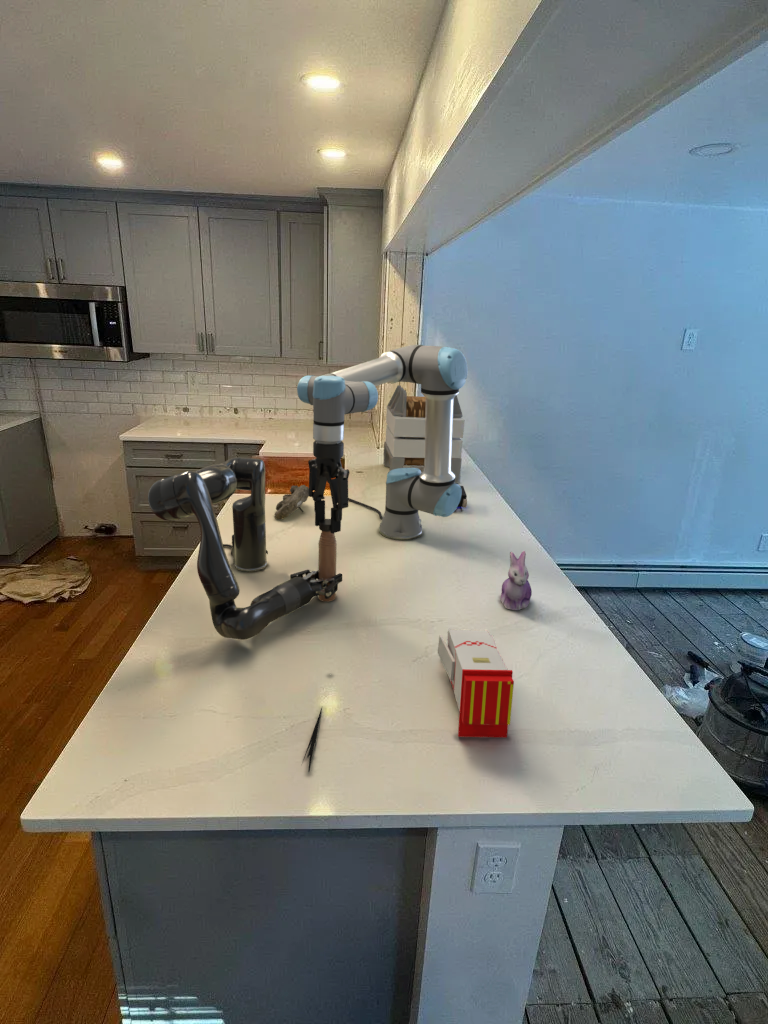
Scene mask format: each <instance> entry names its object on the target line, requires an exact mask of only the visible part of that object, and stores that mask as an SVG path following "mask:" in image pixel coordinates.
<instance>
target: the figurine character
mask: <svg viewBox="0 0 768 1024" xmlns="http://www.w3.org/2000/svg"><path fill="white" fill-rule="evenodd" d="M460 487H461V489H462V495H461V499H460V502H459V505H458V507H457V508H456V510H458V509H459V510H460V512H463V509H464V508H465V509H466V508H467V506H468V499H467V497H468V496H467V495H468V494H467V493H466V490H465V487H464V485H460Z"/></svg>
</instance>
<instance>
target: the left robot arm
mask: <svg viewBox="0 0 768 1024" xmlns="http://www.w3.org/2000/svg"><path fill="white" fill-rule="evenodd" d="M266 473H267V471H266V465H265V462H264V461H263V459H261V458H256V457H255V458H253V457H239V456H238V457H231V458H228V459H227V460H225V461H224V462H221V463H217V464H212V465H207V466H204V467H202V468H200V469H197V470H186V471H183V472H180V473H179V472H178V473H176V474H173V475H169V476H165V477H162V478H160V479H158V480H156V481H155V482H154V483H152V484H151V486H150V488H149V490H148V492H147V493H148V494H147V502H148V506H149V508H150V510H151V512H152V513H153V514H154V515H155V516H156V517H157V518H158V519H161V520H163V521H166V522H169V521H170V522H174V521H178V520H182V519H185V518H187V517H192V516H195V517H196V520H197V523H198V525H199V531H200V542H199V548H198V554H197V560H196V572H197V575H198V578H199V580H200V583H201V585H202V587H203V590H204V592H205V595H206V597H207V598H208V602H209V610H210V615H211V622H212V625H213V627H214V630H215V631H216V632H217V633H218V635H219V636H221V637H223V638H225V639H233V640H239V641H240V640H241V641H242V640H243V641H244V640H249V639H252V638H254V637H256V636H258V634H260V633H261V632H262V631H263V630H265V628H267V627H268V626H269V624H270V623H272V622H274V621H276V620H278V619H280V618H282V617H284V616H287V615H290V614H291V613H294V612H295V611H297V610H299V609H300V608H302V607H305V606H306V605H308V604H309V603H311V601H312V600H313V598H314V597H318V596H319V595H325V599H329V598H330V597H331V596H332V595H333V594H334V593H335V592H336V593H337V592H338V589H339V584H341V583H342V582H343V574H342V573H341V572H339V573H336V575H335V576H333V577H331V578H328V579H325V578H322V579H318V570H311V569H305V570H301V571H298V572H294V573H291V574H290V575H289V579H288V580H286V581H284V582H282V583H279V584H277V585H276V586H274V587H273V588H271V589H269V590H267V591H265V592H263V593H261V594H259V595H257V596H256V597H254V598H253V599H252V600H251V602H250V605H249V606H246V607H237V605H236V602H235V600H236V599H237V598H238V597H239V595H240V593H241V592H240V591H241V589H240V586H239V583H238V581H237V578H236V576H235V573H234V571H233V569H232V566H231V564H230V562H229V560H228V557H227V553H226V551H225V547H226V548H230V549H231V551H230V554H231V555H232V564H233V565H234V567H235V569H236V570H238V571H240V572H244V573H253V572H258V571H261V570H264V569H266V567H267V566H268V561H267V555H268V554H269V551H268V550H267V530H266V529H267V527H266V477H267V476H266V475H267V474H266ZM237 490H239V491H248V492H249V491H250V495H249V496H246V497H242V498H239V499H237V500H235V501H233V503H232V506H231V507H232V509H231V510H232V527H233V534H231V544H228V543H223V539H222V535H221V531H220V526H219V523H218V519H217V515H216V512H215V511H216V510H215V507H214V505H215V504H218V503H221V502H223V501H226V500H228V499H230V498H231V497H232V496H233V495H234V494H235V492H236V491H237ZM328 582H330V585H327V583H328Z"/></svg>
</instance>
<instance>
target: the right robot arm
mask: <svg viewBox="0 0 768 1024" xmlns="http://www.w3.org/2000/svg"><path fill="white" fill-rule="evenodd" d="M468 371H469V369H468V362H467V359H466V356H465V355H464V353H463V352H462V351H461V350H459V349H458V348H453V347H449V346H440V345H439V346H438V345H423V344H410V345H405V346H402V347H398V348H395V349H392V350H389V351H385V352H383V353H382V354H381V355H380V356H379V357H377V358H373V359H370V360H368V361H365V362H361V363H359V364H356V365H355V364H354V365H353V366H349V367H346V368H342V369H339V370H336V371H333V372H330V373H326V374H323V375H313V374H312V375H305V376H304V375H303V376H302V377H301V378H300V379H299V380H298V383H297V387H296V391H297V396H298V399H299V400H300V401H301V402H302V403H304V404H308V405H310V406H312V408H313V409H312V412H313V413H312V415H313V417H312V419H313V420H312V421H313V423H312V439H313V440H314V441H313V443H312V449H313V450H312V455H313V457H315V458H313V459H309V460H308V461H307V463H308V469H309V471H308V472H309V473H308V488H309V497H308V498H312V500H313V503H314V505H313V509H314V526H316V527H319V521H320V520H322V519H326V500H324V499H326V497H325V491H326V487H327V484H328V485H329V492H330V497H331V502H332V503H331V504H332V507H331V508H330V519H331V533H332V534H333V533H334V534H337V533H340V532H341V530H342V529H341V528H342V520H343V509H346V508H349V502H351V503H353V504H356V505H360V506H362V507H365V508H367V509H370V510H372V511H374V512H376V513H377V514H378V516H379V519H380V520H381V522H379V527H378V533H379V534H380V535H381V536H382V537H385V538H387V539H389V540H395V541H410V540H415V539H418V538H420V537H421V536H422V535H423V525H422V524H421V523H422V518H420V515H419V511H420V512H423V513H427V514H429V515H433V516H435V517H442V518H447V517H450V516H452V515H453V514H454V512H456V510H457V509H456V508H457V507H458V505H459V502H460V499H461V495H462V489H461V487H460V486H461V485H460V484H459V483H455V475H454V473H452V472H451V451H452V426H453V400H454V397H455V396H456V395H457V396H458V395H459V393H460V389H462V388H463V387H464V386H465V384H466V381H467V379H468V374H469V373H468ZM401 382H402V383H411V384H418V385H420V394H421V395H422V396H423V397H425V398H426V410H425V460H424V466H423V471H422V470H421V469H420V468H417V467H404V468H398V469H394V470H391V471H390V470H388V472H387V475H386V480H385V504H384V505H385V507H384V508H385V509H384V513H383V515H382V512H381V511H380V510H379V509H377V508H376V507H373V506H371V505H368V504H366V503H363V502H360V501H358V500H355V499H353V498H350V497H349V476H350V470H349V469H345V468H343V466H342V461H341V459H342V458H343V457H344V453H345V452H344V450H345V449H344V448H345V447H344V446H345V443H344V438H345V415H349V414H357V413H364V412H367V411H370V410H373V409H374V408H375V407H376V406H377V404H378V401H379V392H378V388H377V387H378V386H380V385H384V384H386V383H387V384H397V383H401Z"/></svg>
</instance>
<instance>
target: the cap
mask: <svg viewBox="0 0 768 1024" xmlns="http://www.w3.org/2000/svg"><path fill="white" fill-rule="evenodd" d="M318 529H319V530H320V531H321V532H322V531H325V532H331V518H325V519H322V520H320V521H319V526H318Z"/></svg>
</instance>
